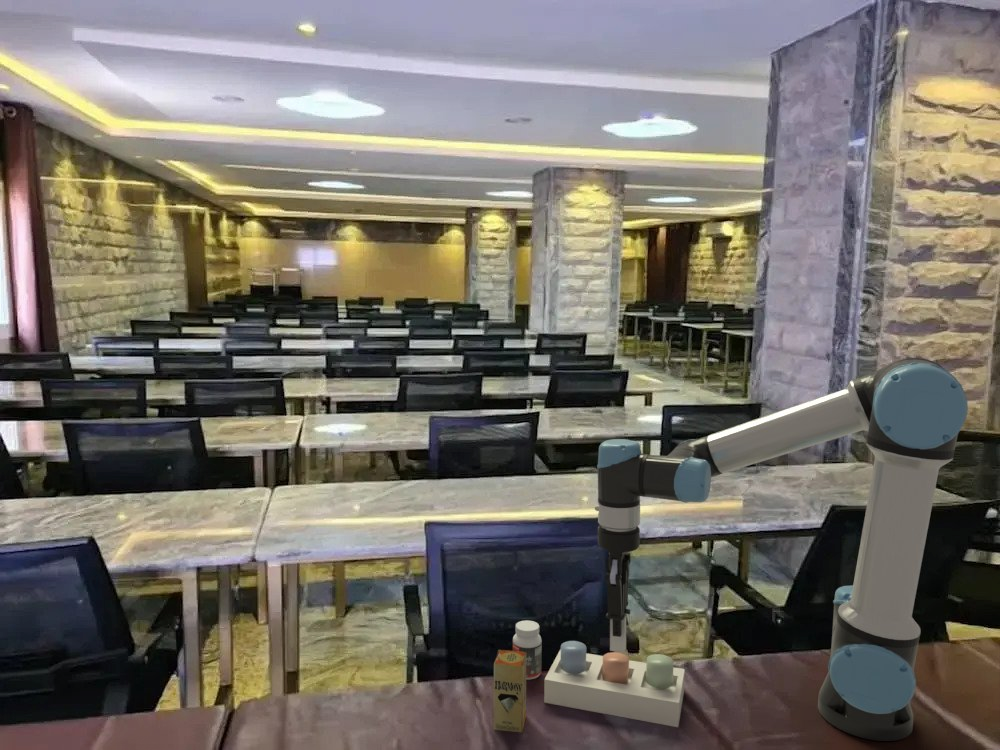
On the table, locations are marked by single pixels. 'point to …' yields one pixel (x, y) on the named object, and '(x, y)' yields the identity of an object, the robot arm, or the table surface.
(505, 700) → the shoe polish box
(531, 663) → the pill bottle
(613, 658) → the button terracotta
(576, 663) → the button slateblue
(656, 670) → the button sage
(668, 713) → the panel
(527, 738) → the table surface
